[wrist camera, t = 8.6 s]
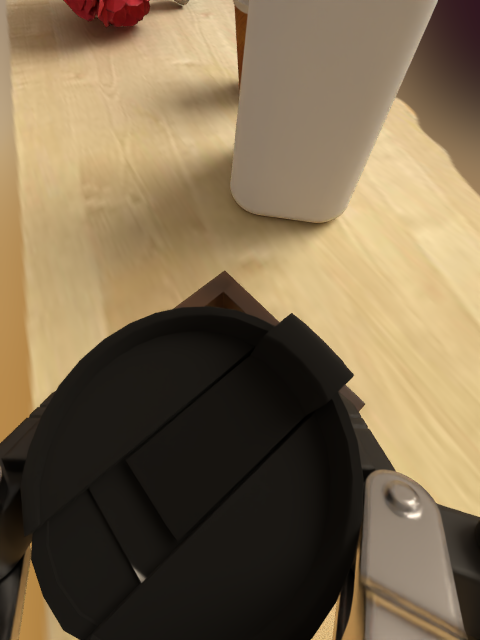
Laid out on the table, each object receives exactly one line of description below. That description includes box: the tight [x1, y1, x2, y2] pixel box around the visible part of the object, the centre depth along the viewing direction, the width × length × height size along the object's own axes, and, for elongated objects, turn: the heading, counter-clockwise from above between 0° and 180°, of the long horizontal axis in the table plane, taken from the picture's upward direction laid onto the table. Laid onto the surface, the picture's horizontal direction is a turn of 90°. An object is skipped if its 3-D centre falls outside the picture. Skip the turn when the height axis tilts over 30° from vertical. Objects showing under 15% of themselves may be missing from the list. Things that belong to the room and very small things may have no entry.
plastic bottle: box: [230, 0, 438, 223], centre depth 24 cm, size 15×15×28 cm
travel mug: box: [20, 306, 363, 640], centre depth 13 cm, size 6×7×20 cm
